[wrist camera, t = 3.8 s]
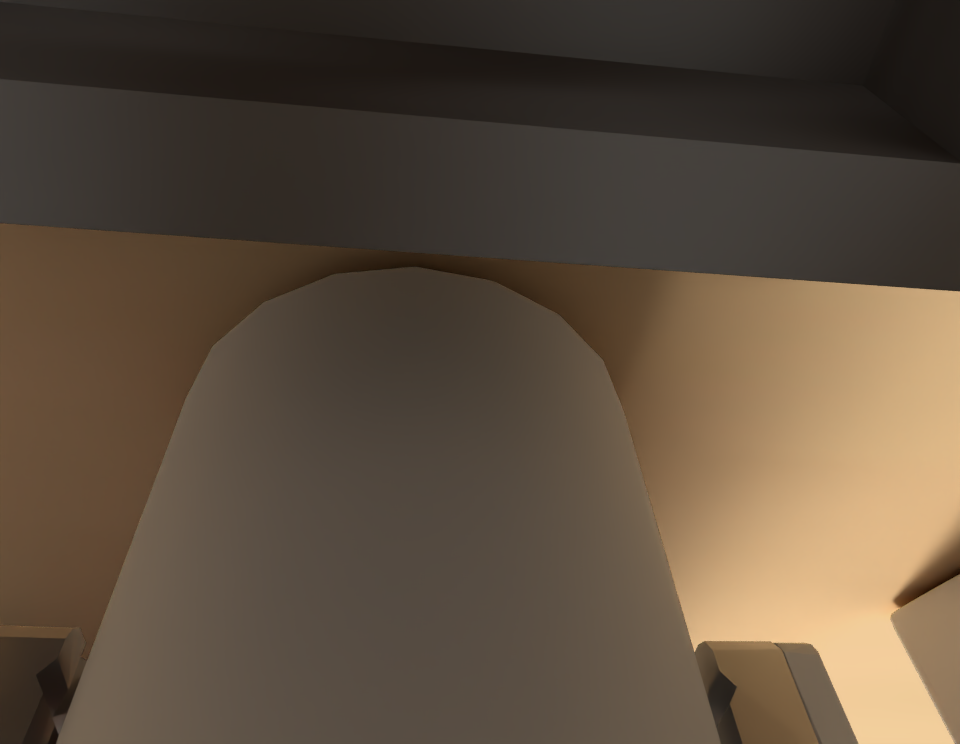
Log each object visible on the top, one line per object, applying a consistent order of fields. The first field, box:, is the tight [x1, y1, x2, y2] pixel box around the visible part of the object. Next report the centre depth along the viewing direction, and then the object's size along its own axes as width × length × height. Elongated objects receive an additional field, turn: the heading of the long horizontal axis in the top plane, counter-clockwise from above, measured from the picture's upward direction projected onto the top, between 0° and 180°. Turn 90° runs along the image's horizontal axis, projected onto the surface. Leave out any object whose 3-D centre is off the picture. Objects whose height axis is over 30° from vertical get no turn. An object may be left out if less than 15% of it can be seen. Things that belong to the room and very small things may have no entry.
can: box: [56, 267, 721, 744], centre depth 10 cm, size 8×8×12 cm
